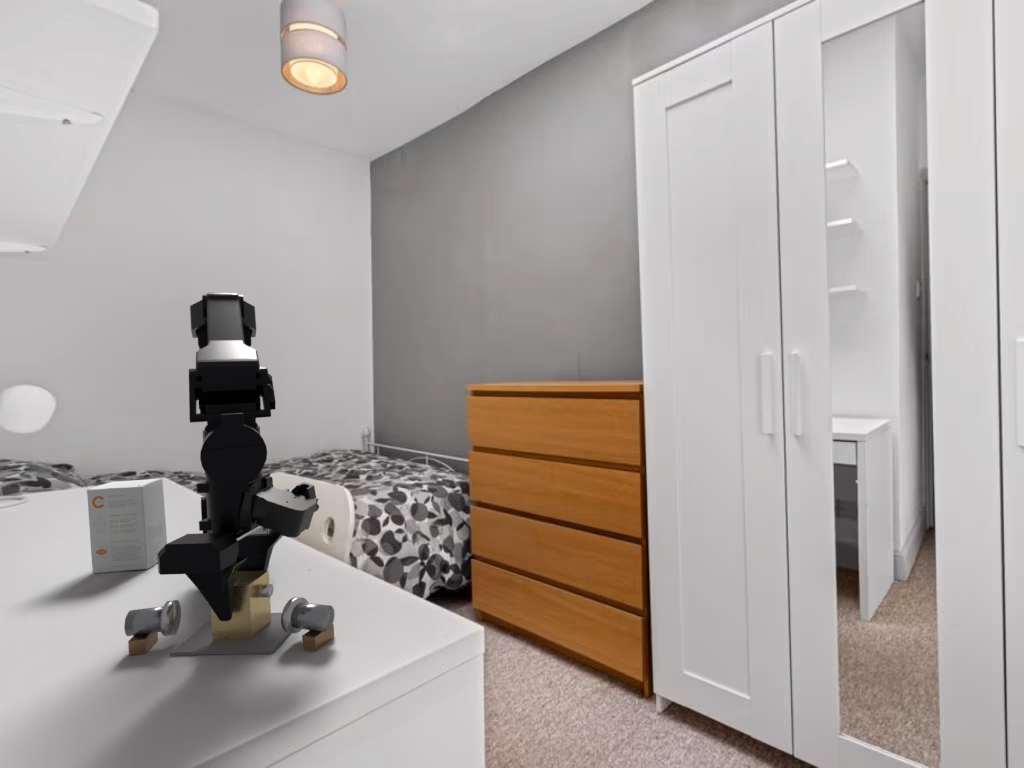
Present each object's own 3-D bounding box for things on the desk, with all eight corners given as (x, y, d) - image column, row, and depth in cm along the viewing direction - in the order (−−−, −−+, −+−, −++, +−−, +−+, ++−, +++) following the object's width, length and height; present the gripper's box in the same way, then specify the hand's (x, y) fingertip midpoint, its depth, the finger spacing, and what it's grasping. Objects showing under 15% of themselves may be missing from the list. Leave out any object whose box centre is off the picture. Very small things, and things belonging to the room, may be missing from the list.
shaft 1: (182, 635, 62) (180, 594, 62) (170, 650, 59) (167, 608, 59) (138, 640, 61) (136, 600, 61) (123, 657, 58) (121, 613, 58)
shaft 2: (282, 648, 58) (280, 605, 58) (304, 632, 62) (302, 591, 62) (317, 652, 57) (315, 609, 57) (338, 636, 61) (336, 595, 60)
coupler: (224, 622, 65) (221, 571, 64) (281, 621, 64) (278, 570, 64) (201, 641, 60) (198, 586, 60) (262, 639, 60) (259, 585, 60)
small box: (168, 556, 91) (164, 477, 91) (147, 570, 85) (142, 485, 84) (116, 560, 90) (111, 480, 90) (90, 574, 84) (85, 489, 83)
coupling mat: (218, 616, 67) (218, 614, 67) (307, 614, 66) (307, 612, 66) (169, 655, 58) (169, 652, 58) (272, 653, 57) (272, 650, 57)
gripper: (264, 485, 52) (273, 648, 52) (335, 453, 71) (341, 574, 71) (149, 489, 52) (159, 650, 53) (249, 456, 71) (256, 576, 72)
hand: (241, 607), depth 62 cm, fingers open, 6 cm apart
